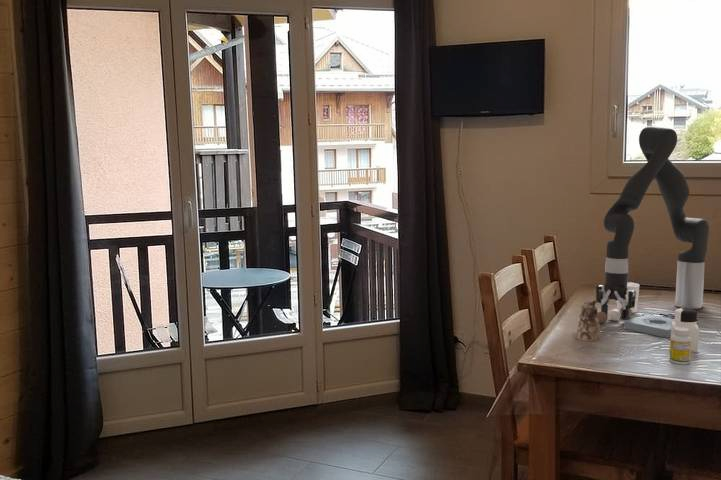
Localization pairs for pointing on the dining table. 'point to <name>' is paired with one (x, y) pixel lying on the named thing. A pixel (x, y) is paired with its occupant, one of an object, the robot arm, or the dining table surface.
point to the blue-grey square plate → (650, 325)
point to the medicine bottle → (687, 325)
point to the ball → (614, 315)
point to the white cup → (630, 287)
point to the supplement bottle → (680, 346)
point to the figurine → (588, 323)
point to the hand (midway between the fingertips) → (614, 317)
